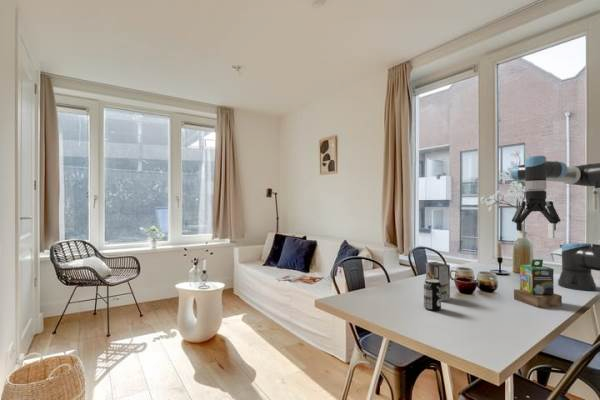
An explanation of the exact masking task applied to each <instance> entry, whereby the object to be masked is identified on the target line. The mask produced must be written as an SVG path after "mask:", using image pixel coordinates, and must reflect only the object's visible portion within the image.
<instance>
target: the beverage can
mask: <svg viewBox="0 0 600 400" xmlns="http://www.w3.org/2000/svg"><path fill="white" fill-rule="evenodd" d="M423 307H424V308H425V310H427V311H430V312H431V311H432V312H439V311H440V310H441V309H442V301H441V284H440V281H439V280H437V279H426V278H425V279H424V282H423Z"/></svg>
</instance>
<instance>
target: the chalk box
mask: <svg viewBox="0 0 600 400" xmlns="http://www.w3.org/2000/svg"><path fill="white" fill-rule="evenodd" d="M535 263H539V264H535ZM543 263H544V260H543V259H532V260H531V264H520V265H519V285H520V286H519V287H520V288H519V289H521V290H524V291H526V292H528V293H530V294H532V295H533V294H537V295H554V294H555V292H554V291H555V290H554V288H555V287H554V271H555V269H554V268H552V267H549V266H546V265H543Z"/></svg>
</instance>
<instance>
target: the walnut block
mask: <svg viewBox="0 0 600 400" xmlns="http://www.w3.org/2000/svg"><path fill="white" fill-rule="evenodd" d="M562 299H563V298H562V295H560V294H557V293H554V295H537V294H533V295H532V294H530V293H528V292H526V291H524V290H521V289H520V288H517V289H515V288H514V289H513V300H514V301H517V302H520V303H522V304H524V305H525V304H526V305H528V306H532V307H534V308H537V309H543V308H557V307H562V305H563V304H562V303H563V301H562Z"/></svg>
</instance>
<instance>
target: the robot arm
mask: <svg viewBox="0 0 600 400" xmlns="http://www.w3.org/2000/svg"><path fill="white" fill-rule="evenodd" d="M524 161H525V162H524V164H518V165H514V166H512V167H511V169H510V177H511V178H512V180H514V181H524V182H525V183H524V184H525V195H524V196H525V200H526V201H524V200H523V201H518V207H517V208H516V210H515V213H514V214H513V216H512V219H511V222H512V223H514V224H516V231H517V237H518V239H525V223H524V221H525V220H526V219H527V218H528V217H529V215H530V214H531V213H532V212H540V213H541V214H542V215H543V216H544V217H545V218H546V220H547V221H548V222H547V238H548V239H549V238H550V239H555V231H556V230H557V228H556V227H557V226H556V225H557V224H558V223H560V222H561V219H560V216H559V214H558V212H557V210H556V208H555V206H554V201H546V199H547V191H546V190H547V182H557V183H558V182H559V183H560V182H561V183H564V184H566V185H574V186H575V185H576V186H581V187H583V186H584V187H594V190H595V191H596V192H597V193H598V195H597V196H598V197H597V199H598V200H597V224H596V225H597V229H596V239H595V241H593V242H592V243H589V242H585V243H584V242H581V243H580V242H578V243H577V242H576V243H575V242H574V243H563V245H562V247H561V273H560V276H559V278H558V279H557V285H558V286H560V287H564V288H566V289H571V290H579V291H596V290H597V284H596V282H595V279H594V278H593V274H592V271H597V272H600V162H596V163H588V164H581V165H570V166H569V165H567V164H566V163H564V162H563V161H558V160H557V161H556V160H555V161H551V160H547V157H546V156H545V155H531V156H527V157H526V158H525V160H524Z"/></svg>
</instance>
